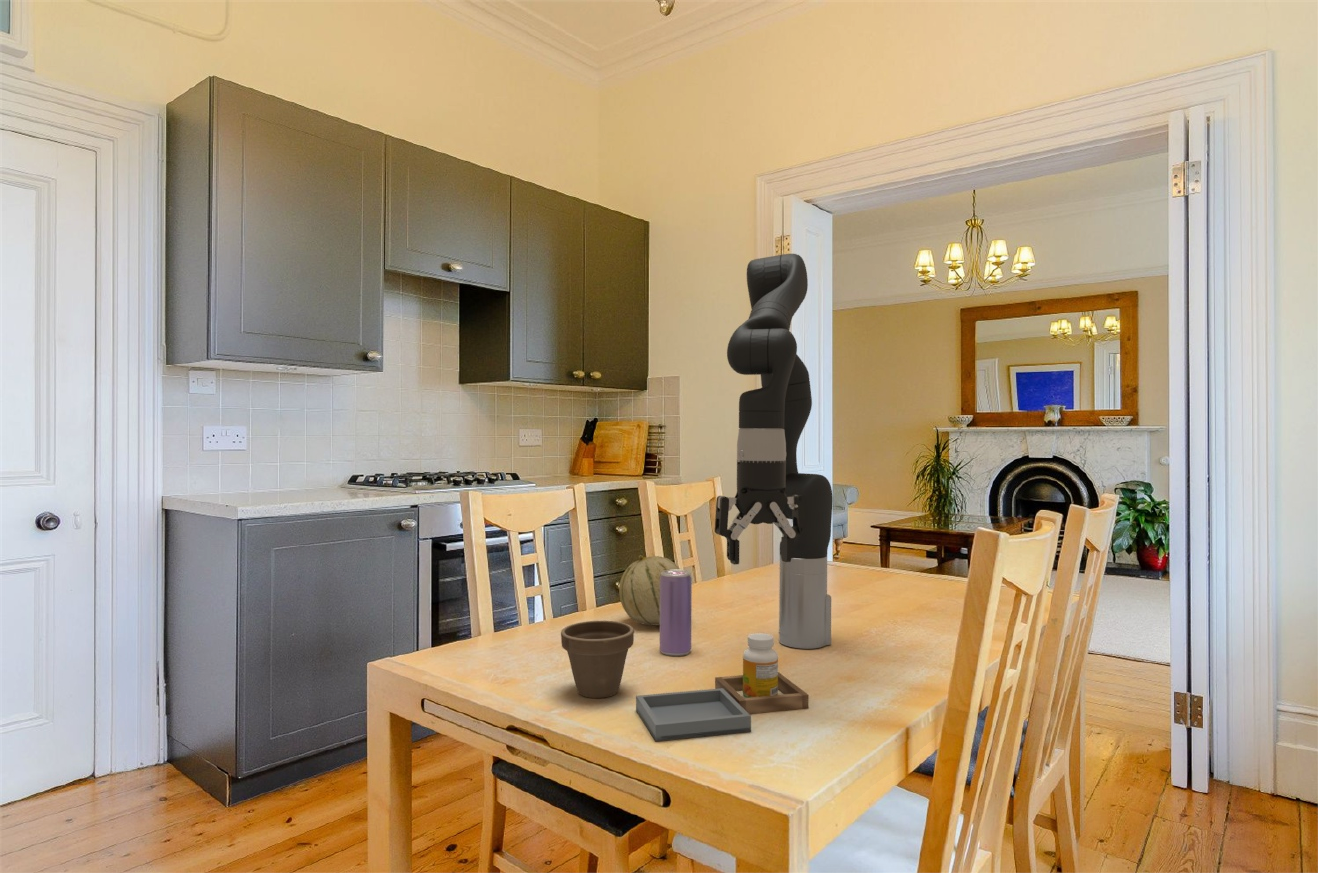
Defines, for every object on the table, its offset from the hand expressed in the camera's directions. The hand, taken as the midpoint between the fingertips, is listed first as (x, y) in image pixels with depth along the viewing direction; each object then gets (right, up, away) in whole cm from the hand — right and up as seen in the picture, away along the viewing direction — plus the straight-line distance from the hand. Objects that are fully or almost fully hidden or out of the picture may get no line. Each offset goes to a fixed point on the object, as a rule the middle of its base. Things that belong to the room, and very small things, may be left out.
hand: (760, 562), depth 118 cm
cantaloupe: (-17, -21, +45) cm, 53 cm away
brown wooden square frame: (0, -21, 0) cm, 21 cm away
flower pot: (-25, -21, +3) cm, 33 cm away
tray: (-11, -21, -9) cm, 26 cm away
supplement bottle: (0, -21, 0) cm, 21 cm away
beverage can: (-13, -21, +25) cm, 35 cm away
